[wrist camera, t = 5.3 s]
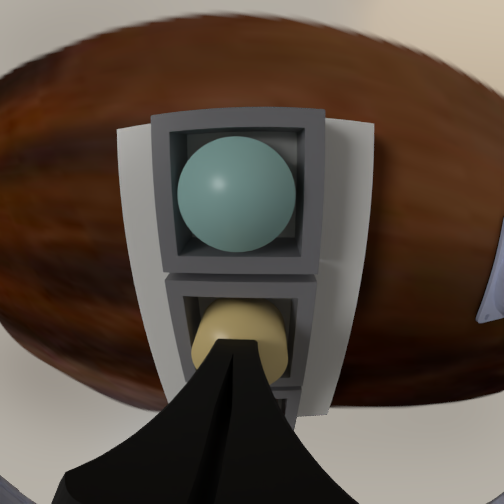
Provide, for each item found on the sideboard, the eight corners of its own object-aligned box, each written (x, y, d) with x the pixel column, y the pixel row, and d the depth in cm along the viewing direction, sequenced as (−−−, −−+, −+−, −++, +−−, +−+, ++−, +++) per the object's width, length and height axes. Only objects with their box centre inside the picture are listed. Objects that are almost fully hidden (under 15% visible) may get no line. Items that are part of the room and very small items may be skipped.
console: (357, 127, 11) (397, 119, 7) (322, 392, 16) (331, 439, 13) (137, 131, 11) (89, 128, 7) (177, 388, 17) (163, 433, 13)
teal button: (289, 139, 9) (296, 136, 7) (288, 233, 10) (293, 252, 8) (191, 141, 9) (174, 140, 7) (196, 233, 10) (182, 252, 8)
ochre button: (287, 292, 10) (291, 322, 8) (282, 359, 11) (284, 391, 10) (197, 291, 10) (184, 320, 8) (205, 356, 11) (198, 387, 10)
